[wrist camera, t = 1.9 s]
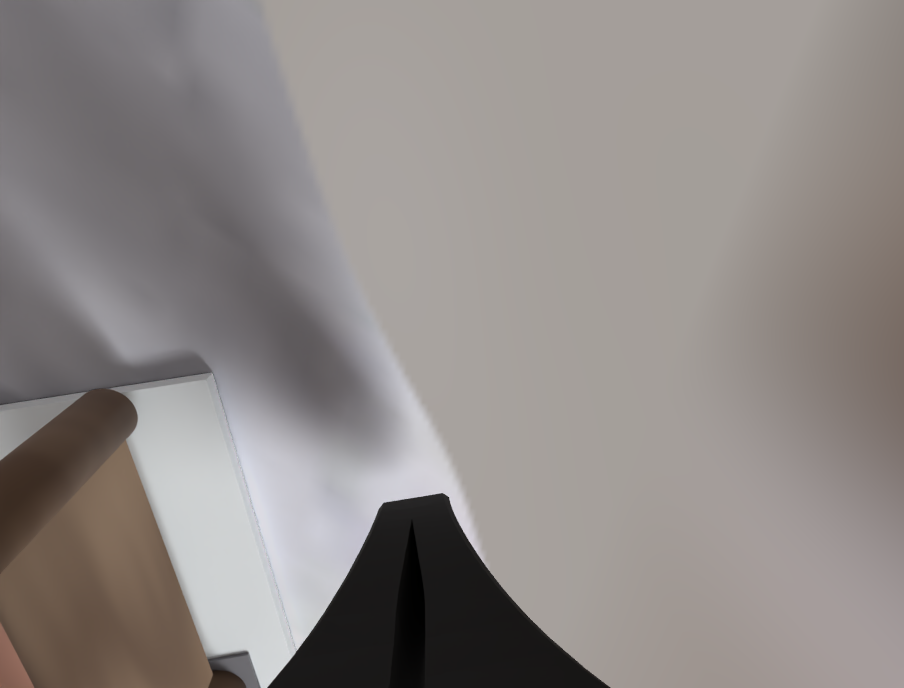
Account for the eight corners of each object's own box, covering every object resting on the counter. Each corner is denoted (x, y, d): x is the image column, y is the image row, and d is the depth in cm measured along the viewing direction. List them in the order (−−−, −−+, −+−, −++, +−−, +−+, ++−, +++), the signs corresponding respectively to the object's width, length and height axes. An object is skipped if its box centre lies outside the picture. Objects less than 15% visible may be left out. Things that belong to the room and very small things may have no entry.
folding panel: (228, 668, 14) (138, 941, 9) (180, 676, 14) (63, 956, 9) (127, 384, 12) (-74, 559, 7) (67, 393, 12) (-178, 576, 7)
